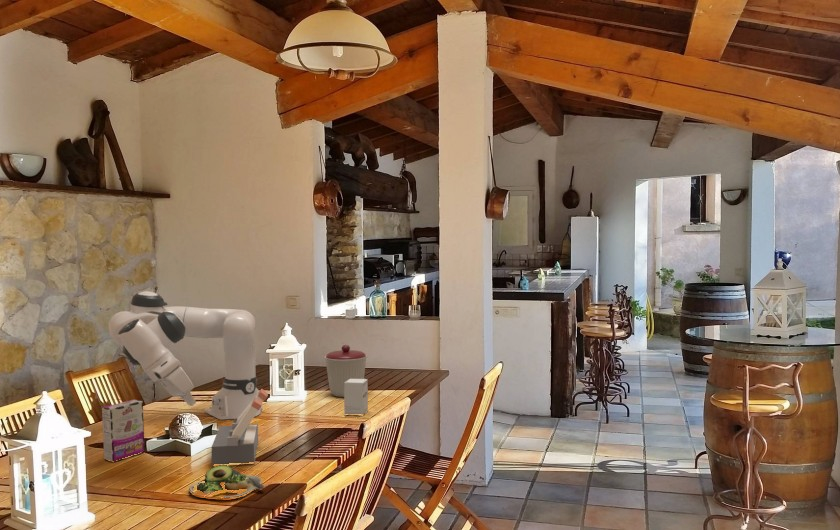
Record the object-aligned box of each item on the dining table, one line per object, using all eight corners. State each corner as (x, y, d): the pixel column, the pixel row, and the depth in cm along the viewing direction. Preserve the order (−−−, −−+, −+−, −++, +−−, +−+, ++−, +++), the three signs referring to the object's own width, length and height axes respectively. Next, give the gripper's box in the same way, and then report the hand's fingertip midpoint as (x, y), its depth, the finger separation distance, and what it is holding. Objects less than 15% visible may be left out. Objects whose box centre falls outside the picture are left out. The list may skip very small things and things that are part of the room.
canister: (362, 388, 302) (361, 340, 301) (372, 397, 285) (372, 347, 284) (321, 391, 296) (320, 343, 295) (329, 401, 279) (328, 349, 278)
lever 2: (227, 441, 202) (254, 401, 203) (229, 436, 207) (255, 397, 208) (235, 445, 203) (261, 405, 204) (236, 440, 208) (262, 401, 209)
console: (211, 467, 201) (211, 438, 200) (220, 444, 223) (219, 418, 223) (254, 464, 203) (253, 436, 202) (258, 442, 225) (257, 416, 225)
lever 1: (232, 426, 217) (260, 392, 218) (233, 422, 222) (261, 388, 223) (239, 431, 218) (267, 396, 219) (240, 427, 223) (268, 393, 224)
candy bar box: (135, 450, 217) (133, 398, 217) (145, 453, 215) (144, 400, 214) (102, 460, 208) (101, 406, 207) (112, 463, 205) (111, 408, 204)
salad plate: (281, 483, 188) (281, 466, 188) (241, 507, 172) (241, 489, 172) (223, 474, 196) (223, 458, 195) (179, 497, 179) (179, 479, 179)
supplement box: (363, 416, 255) (362, 382, 255) (343, 415, 257) (343, 382, 256) (368, 411, 263) (368, 378, 262) (349, 410, 264) (349, 378, 264)
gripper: (148, 376, 208) (177, 411, 211) (159, 373, 191) (191, 411, 193) (165, 363, 211) (194, 397, 214) (178, 358, 194) (209, 396, 196)
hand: (193, 404), depth 203 cm, fingers closed
